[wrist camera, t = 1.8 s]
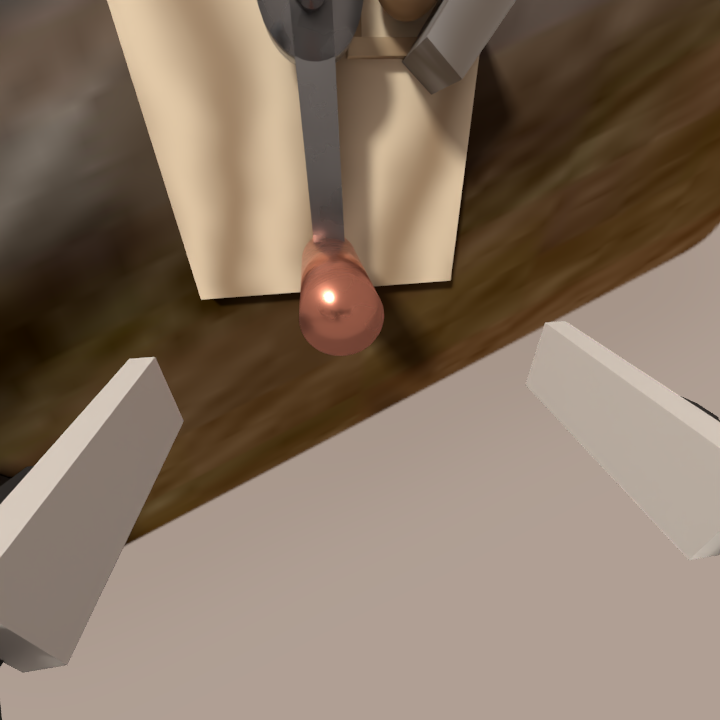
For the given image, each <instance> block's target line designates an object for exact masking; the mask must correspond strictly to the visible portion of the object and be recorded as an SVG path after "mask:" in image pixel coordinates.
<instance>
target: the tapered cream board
mask: <svg viewBox="0 0 720 720" xmlns="http://www.w3.org/2000/svg"><path fill="white" fill-rule="evenodd" d="M107 1H108V5H109V8H110V11H111V14H112V17H113V20H114V24H115V27H116V30H117V33H118V36H119V40H120V43H121V46H122V49H123V52H124V55H125V59H126V62H127V65H128V68H129V71H130V75H131V78H132V81H133V84H134V87H135V91H136V94H137V97H138V100H139V103H140V106H141V110H142V113H143V116H144V119H145V122H146V126H147V129H148V132H149V135H150V138H151V141H152V145H153V148H154V151H155V154H156V157H157V161H158V164H159V167H160V170H161V173H162V177H163V180H164V183H165V186H166V189H167V192H168V196H169V199H170V202H171V205H172V208H173V212H174V215H175V218H176V221H177V224H178V228H179V231H180V234H181V237H182V240H183V243H184V247H185V250H186V253H187V256H188V259H189V263H190V266H191V269H192V272H193V275H194V278H195V282H196V285H197V288H198V291H199V294H200V298H201V300H203V299H216V298H229V297H242V296H255V295H268V294H281V293H294V292H300V289H301V267H302V254H303V250H304V248H305V246H306V244H307V243H308V242H309V241H310V240H311V239H312V238H313V230H312V220H311V210H310V201H309V191H308V181H307V171H306V161H305V151H304V142H303V132H302V122H301V112H300V102H299V93H298V83H297V73H296V65H294V64H292V63H291V62H290V61H288V60H287V59H286V58H285V57H284V56H283V55H282V54H281V53H280V52H279V51H278V49H277V48H276V47H275V45H274V44H273V42H272V40H271V39H270V37H269V35H268V32H267V30H266V27H265V25H264V22H263V19H262V16H261V13H260V10H259V6H258V3H257V0H107ZM515 1H516V0H437V2H436V3H435V5H434V6H433V7H432V8H431V10H429V11H428V12H427V13H426V14H425V15H424V16H422V17H421V18H419V19H416V20H413V21H407V22H405V21H399V20H397V19H395V18H393V17H391V16H390V15H389V14H388V13H387V12H386V11H385V10H384V9H383V7H382V6H381V4H380V3H379V1H378V0H363V6H362V12H361V17H360V21H359V24H358V27H357V29H356V32H355V34H354V37H353V40H352V42H351V44H350V46H349V48H348V50H347V51H346V53H345V54H344V55H343V57H342V58H341V59H340V60H339V61H338V62H337V63H335V65H336V84H337V104H338V123H339V142H340V162H341V181H342V200H343V220H344V237H345V238H346V239H347V240H348V241H349V242H350V243H351V244H352V246H353V248H354V249H355V251H356V253H357V255H358V257H359V259H360V261H361V263H362V265H363V267H364V269H365V271H366V273H367V275H368V277H369V279H370V281H371V282H372V284H373V286H386V285H399V284H413V283H426V282H439V281H451V273H452V265H453V257H454V249H455V242H456V234H457V226H458V218H459V210H460V202H461V195H462V187H463V179H464V171H465V163H466V156H467V148H468V140H469V132H470V124H471V117H472V109H473V101H474V93H475V85H476V77H477V70H478V62H479V54H480V53H481V51H482V50H483V48H484V47H485V45H486V44H487V42H488V41H489V39H490V38H491V36H492V35H493V33H494V32H495V30H496V29H497V27H498V26H499V24H500V23H501V21H502V20H503V18H504V17H505V16H506V14H507V13H508V11H509V10H510V8H511V7H512V5H513V4H514V2H515Z"/></svg>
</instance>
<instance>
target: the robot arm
mask: <svg viewBox="0 0 720 720" xmlns="http://www.w3.org/2000/svg"><path fill="white" fill-rule="evenodd" d="M526 386H527V387H528V388H529V389H530V390H531V392H532V393H533V394H534V395H535V396H536V397H537V398H538V399H539V400H540V401H541V402H542V403H543V404H544V405H545V407H546V408H547V409H548V410H549V411H550V412H551V413H552V414H553V415H554V416H555V417H556V418H557V419H558V420H559V422H560V423H561V424H562V425H563V426H564V427H565V428H566V429H567V430H568V431H569V432H570V433H571V434H572V436H573V437H574V438H575V439H576V440H577V441H578V442H579V443H580V444H581V445H582V446H583V447H584V448H585V449H586V450H587V452H588V453H589V454H590V455H591V456H592V457H593V458H594V459H595V460H596V461H597V462H598V463H599V464H600V466H601V467H602V468H603V469H604V470H605V471H606V472H607V473H608V474H609V475H610V476H611V477H612V478H613V479H614V481H615V482H616V483H617V484H618V485H619V486H620V487H621V488H622V489H623V490H624V491H625V492H626V493H627V495H629V497H630V498H631V499H632V500H633V501H634V502H635V503H636V504H637V505H638V506H639V507H640V508H641V510H642V511H643V512H644V513H645V514H646V515H647V516H648V517H649V518H650V519H651V520H652V521H653V522H654V523H655V525H656V526H657V527H658V528H659V529H660V530H661V531H662V532H663V533H664V534H665V535H666V536H667V537H668V538H669V540H670V541H671V542H672V543H673V544H674V545H675V546H676V547H677V548H678V549H679V550H680V551H681V552H682V554H684V555H685V557H686V558H687V559H688V560H693V559H699V558H705V557H711V556H717V555H719V554H720V420H719V419H718V417H717V416H716V415H714V414H713V413H711V412H709V411H708V410H706V409H705V408H703V407H702V406H700V405H699V404H697V403H695V402H692V401H690V400H688V399H686V398H684V397H681V396H679V395H677V394H676V393H675V392H673V391H672V390H670V389H668V388H667V387H665V386H664V385H662V384H661V383H659V382H658V381H656V380H655V379H653V378H652V377H650V376H649V375H647V374H645V373H644V372H642V371H641V370H639V369H638V368H636V367H635V366H633V365H632V364H630V363H628V362H627V361H626V360H624V359H623V358H621V357H620V356H618V355H616V354H615V353H613V352H612V351H610V350H609V349H607V348H606V347H604V346H603V345H601V344H600V343H598V342H597V341H595V340H594V339H592V338H590V337H589V336H587V335H586V334H584V333H583V332H581V331H580V330H578V329H577V328H575V327H574V326H572V325H571V324H569V323H567V322H566V321H559V322H548V323H545V324H544V328H543V331H542V334H541V337H540V340H539V343H538V346H537V350H536V353H535V356H534V359H533V362H532V365H531V369H530V372H529V375H528V378H527V381H526ZM182 423H183V419H182V416H181V414H180V412H179V410H178V407H177V405H176V403H175V401H174V398H173V396H172V394H171V392H170V389H169V387H168V385H167V383H166V380H165V378H164V376H163V374H162V371H161V369H160V367H159V365H158V362H157V360H156V358H155V357H147V358H136V359H129V360H128V361H127V362H126V363H125V364H124V366H123V367H122V368H121V369H120V370H119V371H118V372H117V373H116V375H115V376H114V377H113V378H112V379H111V380H110V381H109V382H108V384H107V385H106V386H105V387H104V388H103V389H102V390H101V391H100V393H99V394H98V395H97V396H96V397H95V398H94V399H93V401H92V402H91V403H90V404H89V405H88V406H87V407H86V408H85V410H84V411H83V412H82V413H81V414H80V415H79V416H78V417H77V419H76V420H75V421H74V422H73V423H72V424H71V425H70V426H69V428H68V429H67V430H66V431H65V432H64V433H63V434H62V435H61V437H60V438H59V439H58V440H57V441H56V442H55V443H54V444H53V446H52V447H51V448H50V449H49V450H48V451H47V452H46V453H45V455H44V456H43V457H42V458H41V459H40V460H39V461H38V462H37V464H36V465H35V466H30V467H26V468H25V469H23V470H22V471H21V472H19V473H18V474H16V475H15V476H14V477H12V478H7V477H4V476H0V666H1V665H2V663H3V662H4V663H6V664H7V665H10V666H11V667H13V668H15V669H17V670H19V671H21V672H29V671H35V670H41V669H47V668H53V667H59V666H65V665H67V664H68V662H69V660H70V658H71V655H72V654H73V651H74V650H75V648H76V645H77V643H78V641H79V639H80V637H81V635H82V633H83V631H84V629H85V627H86V625H87V622H88V620H89V618H90V616H91V614H92V612H93V610H94V607H95V606H96V604H97V601H98V599H99V597H100V595H101V593H102V591H103V589H104V587H105V585H106V583H107V581H108V578H109V576H110V574H111V572H112V570H113V568H114V566H115V563H116V562H117V559H118V557H119V555H120V553H121V551H122V549H123V547H124V545H125V543H126V541H127V539H128V537H129V534H130V532H131V530H132V528H133V526H134V524H135V522H136V520H137V518H138V516H139V513H140V511H141V509H142V507H143V505H144V503H145V501H146V499H147V497H148V495H149V492H150V490H151V488H152V486H153V484H154V482H155V480H156V478H157V476H158V474H159V472H160V469H161V467H162V465H163V463H164V461H165V459H166V457H167V455H168V453H169V451H170V448H171V446H172V444H173V442H174V440H175V438H176V436H177V434H178V432H179V430H180V428H181V425H182ZM0 720H2V717H1V707H0Z"/></svg>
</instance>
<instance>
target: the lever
mask: <svg viewBox="0 0 720 720" xmlns="http://www.w3.org/2000/svg"><path fill="white" fill-rule="evenodd" d="M257 3H258V6H259V10H260V13H261V16H262V19H263V22H264V25H265V27H266V30H267V32H268V35H269V37H270V39H271V40H272V42H273V44H274V45H275V47H276V48H277V49H278V51H279V52H280V53H281V54H282V55H283V56H284V57H285V58H286V59H287V60H288V61H290V62H291V63H292V64H294V65H296V73H297V83H298V93H299V102H300V112H301V122H302V132H303V142H304V151H305V161H306V171H307V181H308V191H309V201H310V210H311V220H312V230H313V238H312V239H311V240H310V241H309V242H308V243H307V244H306V246H305V248H304V250H303V254H302V267H301V289H300V311H299V323H300V328H301V331H302V333H303V335H304V337H305V338H306V340H307V341H308V342H309V343H310V344H311V345H312V346H313V347H314V348H316V349H317V350H319V351H321V352H323V353H326V354H329V355H336V356H345V355H351V354H354V353H357V352H360V351H362V350H363V349H365V348H366V347H368V346H369V345H370V344H371V343H373V341H374V340H375V339H376V338H377V336H378V335H379V333H380V331H381V329H382V326H383V322H384V309H383V305H382V302H381V300H380V298H379V296H378V294H377V292H376V290H375V288H374V286H373V284H372V282H371V281H370V279H369V277H368V275H367V273H366V271H365V269H364V267H363V265H362V263H361V261H360V259H359V257H358V255H357V253H356V251H355V249H354V248H353V246H352V244H351V243H350V242H349V241H348V240H347V239H346V238H345V237H344V220H343V200H342V181H341V162H340V142H339V123H338V104H337V84H336V65H335V63H337V62H338V61H339V60H340V59H341V58H342V57H343V55H344V54H345V53H346V51H347V50H348V48H349V46H350V44H351V42H352V40H353V37H354V34H355V32H356V29H357V27H358V24H359V21H360V17H361V12H362V6H363V0H257Z"/></svg>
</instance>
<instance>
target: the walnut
mask: <svg viewBox="0 0 720 720" xmlns="http://www.w3.org/2000/svg"><path fill="white" fill-rule="evenodd" d="M378 1H379V3H380V4H381V6H382V7H383V9H384V10H385V11H386V12H387V13H388V14H389V15H390V16H391V17H393V18H395V19H397V20H399V21H405V22H407V21H413V20H416V19H419V18H421V17H422V16H424V15H425V14H426V13H427V12H428V11H429V10H431V8H432V7H433V6H434V5H435V3H436V2H437V0H378Z"/></svg>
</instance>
